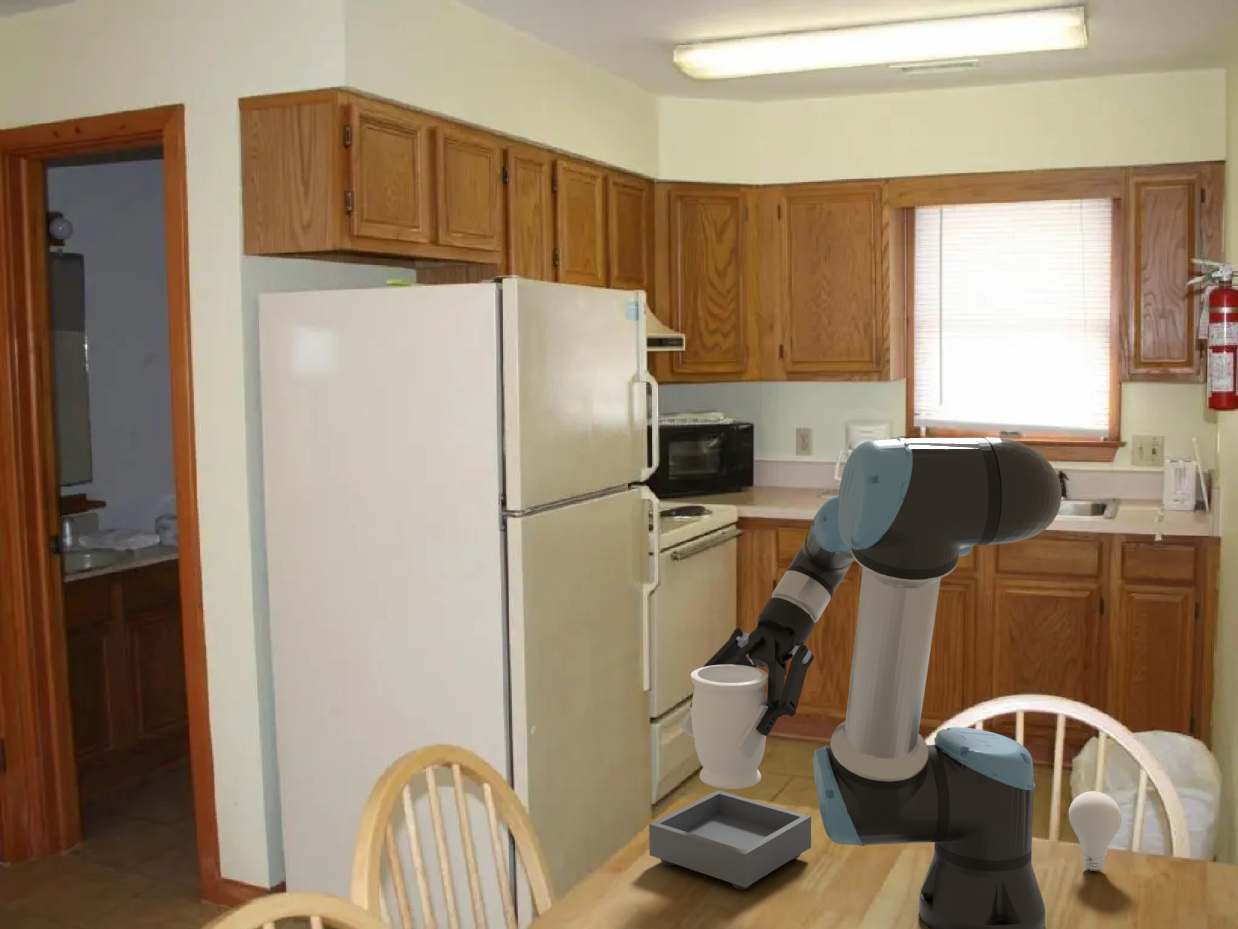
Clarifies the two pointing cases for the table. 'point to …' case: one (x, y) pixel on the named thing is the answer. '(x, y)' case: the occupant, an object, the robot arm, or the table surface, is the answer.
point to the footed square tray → (730, 838)
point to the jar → (727, 723)
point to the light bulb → (1094, 826)
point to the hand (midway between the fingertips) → (714, 741)
